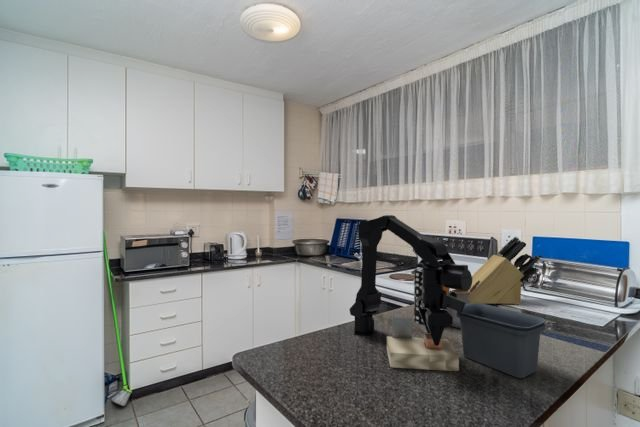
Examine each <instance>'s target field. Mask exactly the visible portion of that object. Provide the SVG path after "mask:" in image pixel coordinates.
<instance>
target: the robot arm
mask: <svg viewBox="0 0 640 427" xmlns="http://www.w3.org/2000/svg"><path fill="white" fill-rule="evenodd" d="M357 231H358V232H357V233H358V239H359V241H360V243H361V245H362V256H361V277H360V278H361V282H360V288H359V289H358V291H357V293H356V295H355V296H356V297H355V301H354V303H353V305H351V307H350V308H349V313H350V316H353V317H354V328H353V329H354V330H353V334H354V335H363V336H364V335H365V336H366V335H367V336H373V335H374V332H375V318H374V317H373V315H376V314H378V313H377V312H378V309H380V307H381V305H382V292H381V291H380V292H379V290H378V289H377V287H376V280H377V260H378V259H377V257H378V245H379V244H380V242H381V240H382V237H383V233H384V232H386V231H389V232H390V233H393V234H394V235H396V237H398V238H400V239H401V240H403V241H404V242H405V243H406V244H408V245H410V246H411V247H412V248H413V251H414V253H415V254H416V255H417V256H418V257H419V258H420V259H421V260H420V261H419V262H418V263H417V264H415V267H416V268H417V269H423V286H421V290H422V291H423V296H419V297H418V298H417V306H418V310H419V312H420V315H421V317H422V320H423V322H424V325H423V326H424V327H425V330H426V332H427V334H431V337H432V340H433V342H434V345H435V346H438V345H439V343H440V340H441V339H442V337H443V336H442V335H443V332H444V330H445V329H446V328H447V327H450V326H451V325H452V324H453V317H452V316H451V315H450V314H449V313H448V312H447V310H448V307H449V308H451V309H454V310H456V311H457V312H460V313H462V311H463V308H464V306H465V303H466V302H464V301H463V300H462V299H460V298H459V297H457V294H456V293H455V292H453V291H452V290H462V291H468V290H469V289H470V288H471V285H472V274H471V273H472V272H471V270H469V266H468V264H457V263H455V262H456V261H454V259H453V257H452V256H451V254H450V253H449V251H448V249H447V245H446V243H444V242H443V241H441V240H439V239H436V238H435V237H431V236H428V235H427V236H426V235H424V234H422V233H420V232H419V231H417V230H416V229H414V228H412V227H411V226H409V225H407V224H406V223H405V222H403V221H401V220H400V219H399V218H397V216H395V215H393V214H388V215H387V214H384V215H382V216H379V217H377V218H373V219H370V220H366V219H365V220H362V221H361V222H360V223H358V226H357ZM443 285H444V287H446V288H450V290H449V292H448V293H446V291H445V290H444V289H443ZM451 289H452V290H451Z"/></svg>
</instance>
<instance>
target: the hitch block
mask: <svg viewBox="0 0 640 427" xmlns="http://www.w3.org/2000/svg"><path fill="white" fill-rule="evenodd" d="M441 339H442V350H441V349H426V346H425V344H424V337H413V336H412V338H395V337H392V335H391V336H390V335H389V336H386V353H387V357H388V362H389V367H390V368H396V369H397V368H398V369H400V368H401V369H413V370H431V371H447V372H448V371H449V372H451V371H452V372H459V371H460V366H459V365H460V355H459V354H458V353H457V351H456V350H455V349H454V347H453V346H452V344H451V342H450V341H449V340H448V339H447V338H441Z"/></svg>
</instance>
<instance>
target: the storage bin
mask: <svg viewBox="0 0 640 427" xmlns="http://www.w3.org/2000/svg"><path fill="white" fill-rule="evenodd" d="M456 316H457V317H458V318H460V324H461V328H460V332H461V344H462V352H463V356H464V357H465V358H467V359H469V360H472V361H474V362H476V363H478V364H481V365H484V366H487V367H489V368H492V369H494V370H496V371H500V372H502V373H504V374H506V375H510V376H512V377H515V378H517V379H524V378H526V377H528V376H531V375H532V374H533V373H535V372H537V370H538V361H539V360H538V359H539V349H540V339H541V332H542V331H545V330H546V324H545V323H547V322H548V320H547V319H545V318H543V317H539V316H536V315H532V314H529V313H523V312H520V311H516V310H510V309H508V308H502V307H499V306H493V305H491V304H480V303H472V304H467V305H465V306H464V308H463V311H462V313H460V312H456Z"/></svg>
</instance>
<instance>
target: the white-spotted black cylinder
mask: <svg viewBox="0 0 640 427" xmlns="http://www.w3.org/2000/svg"><path fill="white" fill-rule="evenodd" d="M413 273H414V274H413V321H414V323H416V324H418V325H422V326H425V325H424V322H423V320H422V317H421V315H420V312H419V310H418V306H417V298H418V297H419V296H423V291H422V290H421V286H423V268H414V271H413Z"/></svg>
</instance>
